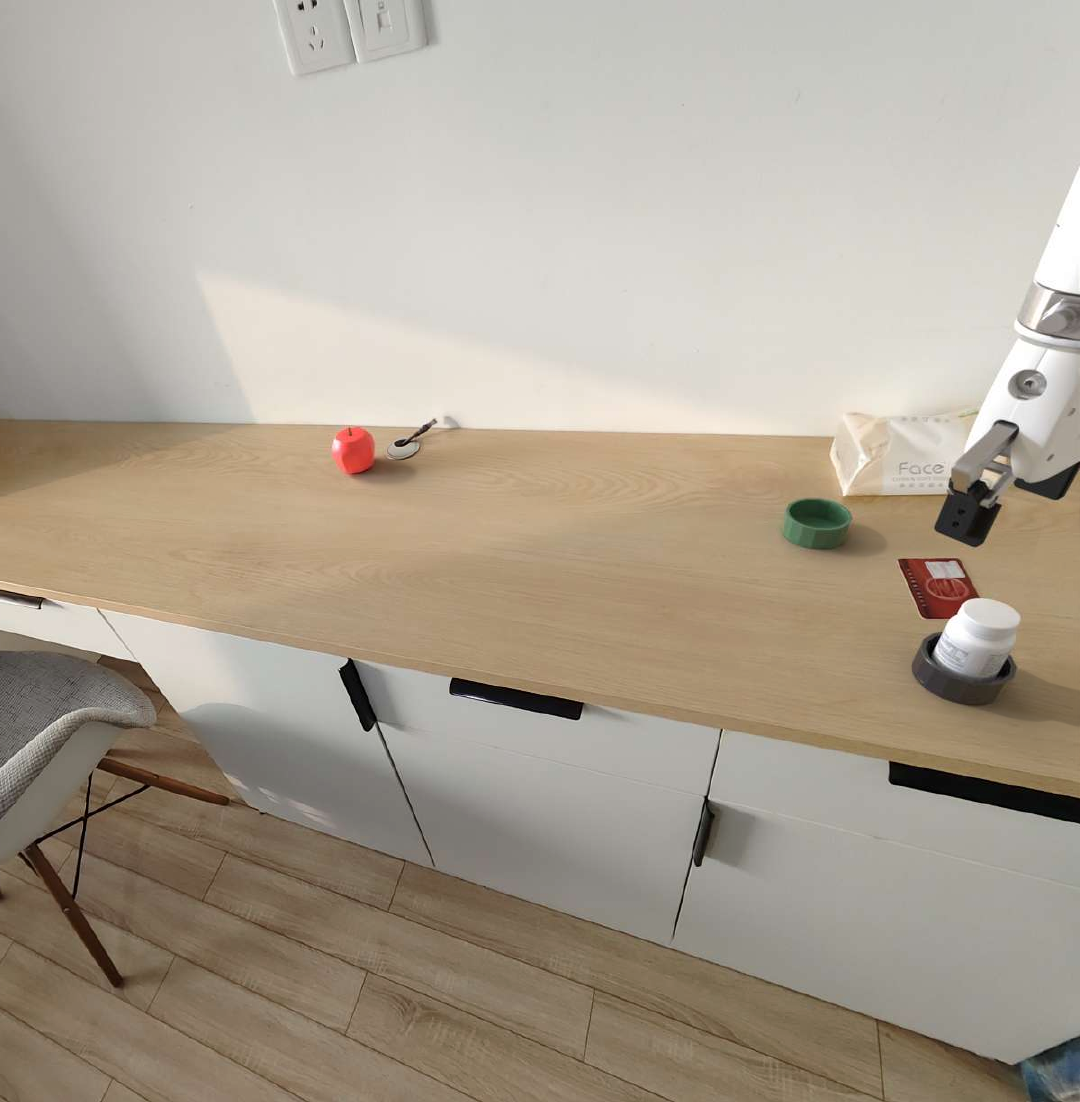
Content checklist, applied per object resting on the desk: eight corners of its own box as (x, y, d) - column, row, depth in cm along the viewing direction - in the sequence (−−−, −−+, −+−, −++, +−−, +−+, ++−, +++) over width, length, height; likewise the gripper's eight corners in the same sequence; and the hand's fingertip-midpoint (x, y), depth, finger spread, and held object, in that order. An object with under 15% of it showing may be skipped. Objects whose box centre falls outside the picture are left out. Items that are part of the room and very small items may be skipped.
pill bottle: (985, 662, 64) (1022, 600, 59) (994, 699, 61) (1034, 636, 56) (923, 652, 66) (953, 590, 61) (928, 687, 63) (961, 625, 58)
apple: (384, 470, 116) (376, 430, 111) (341, 483, 115) (331, 443, 110) (372, 451, 122) (365, 412, 117) (331, 463, 121) (322, 424, 117)
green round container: (852, 525, 83) (858, 506, 81) (836, 555, 79) (843, 536, 77) (790, 511, 87) (795, 492, 85) (773, 539, 84) (778, 520, 82)
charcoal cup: (1008, 669, 64) (1021, 648, 62) (996, 717, 60) (1010, 696, 58) (919, 642, 68) (929, 621, 66) (904, 685, 64) (914, 665, 63)
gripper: (1089, 364, 39) (979, 581, 49) (1259, 276, 42) (1124, 494, 53) (947, 335, 44) (875, 534, 55) (1108, 259, 48) (1012, 459, 58)
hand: (997, 514), depth 54 cm, fingers open, 9 cm apart
